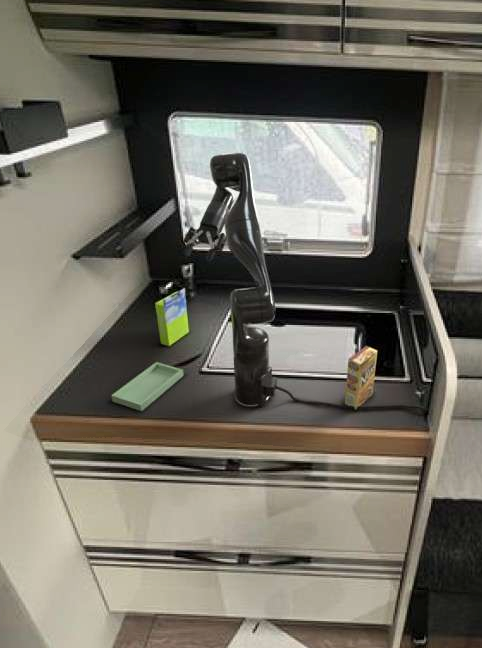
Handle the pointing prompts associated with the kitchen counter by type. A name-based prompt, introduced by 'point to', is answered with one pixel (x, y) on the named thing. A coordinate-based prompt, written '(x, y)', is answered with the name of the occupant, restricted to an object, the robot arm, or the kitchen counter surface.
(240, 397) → the robot arm
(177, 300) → the box
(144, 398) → the green shallow tray
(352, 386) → the candy box
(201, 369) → the kitchen counter surface
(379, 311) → the kitchen counter surface
